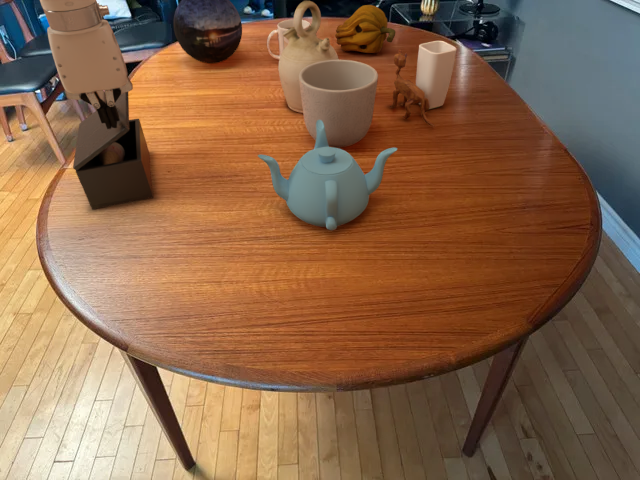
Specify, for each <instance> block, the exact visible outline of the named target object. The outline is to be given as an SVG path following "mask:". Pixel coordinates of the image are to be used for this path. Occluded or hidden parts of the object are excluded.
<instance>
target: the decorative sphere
mask: <svg viewBox="0 0 640 480" xmlns="http://www.w3.org/2000/svg"><path fill="white" fill-rule="evenodd" d="M173 31H174V35H175V38H176V41H177V43H178V45H180V47H181V48H182V50H183V51H184V52H185V53H186V54H187V55H188V56H189V57H191V58H192V59H194V60H196V61H197V62H202V63H205V64H218V63H221V62H224V61H226V60H228V59H229V58H230V57H232V56H233V55H234V54H235V52H236V51H237V49H238V48H239V46H240V44H241V41H242V35H243V24H242V19H241V16H240V14H239V11H238V9H237V8H236V6H235V5H234V4H233V2H231V0H181V1H180V2H179V3H178V4H177V7H176V9H175V11H174V16H173Z"/></svg>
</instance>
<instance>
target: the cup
mask: <svg viewBox="0 0 640 480" xmlns="http://www.w3.org/2000/svg"><path fill="white" fill-rule="evenodd" d="M456 56H457V47H456V46H454V45H452V44H450V43H449V42H446V41H443V40H433V41H429V42H423V43H420V44H419V45H418V53H417V61H416V73H415V75H416V76H415V85H416V86H417V87H419V88H420V89H421V90H423V92H424V94H425V97H424V98H427V99H428V100H429V106H430V107H429V109H428V110H433V109H437V108H440V107H442V106H443V105H444V104H445V101H446V98H447V94H448V92H449V88H450V84H451V79H452V77H453V72H454V67H455V61H456ZM417 105H419V106H420V107H421V103H418V104H417Z"/></svg>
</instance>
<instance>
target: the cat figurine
mask: <svg viewBox="0 0 640 480" xmlns="http://www.w3.org/2000/svg"><path fill="white" fill-rule="evenodd" d="M407 57H408V52H405V54H403V53H402V50H401V49H400V48H399V49H398V53H395V54H394V55H393V61H394V63H393V64H394V65H395V66H396V67H397V69H396V71H395V75H396V78H395V80H394V82H393V84H394V87H395V89H393V93H392V105H390V106H389V107H390V108H391V109H395V108H397V106H398V101H399V100H398V99H399V94H401V95H402V96H403V101H402V102H400V106H404V109H405V111H406V113H405V114H404V115H403V116H402V118H403V119H405V120H408V119H409V118H410V117H411V115H412V112H411V106H414V105H419V104H418V103H421V106H420V115H421V117H422V120H423V122H425V124H427V125H429V126H430V127H432V128H436V127H435V126H436V125H435V124H434V123H432V121H430V120H429V119H428V117H427V115H426V113H427V112H428V111H429V110H430V109H429V107H430V106H429V100H428V99H427V98H424V97H425V94H424V92H423V90H421V89H420V88H419V87H417V86H416V83H414V82H413V81H411V80H409V79H404V78H403V77H402V76H401V75H400V72H401V70H402V69H403V68H405V67H406V63H407Z"/></svg>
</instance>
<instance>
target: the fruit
mask: <svg viewBox="0 0 640 480" xmlns="http://www.w3.org/2000/svg"><path fill="white" fill-rule="evenodd" d="M335 33H336V34H335V36H334V37H335V38H336V44H337V45H339V46H340V48H341V50H342V51H344V52H350V51H351V52H352V51H353V52H354V51H355V52H361V53H366V54H377V53H379V52H380V51H381V50H382V48H383V45H384V43H385V41H386V42H387V43H390V44H391V43H392V42H393V40H394V38H395V36H396V30H395V29H394V28H391V27H388V18H387V17H386V13H385V12H384V11H383V10H382V9H381V8H380V7H377V6H376V5H372V4H365V5H362V6H360V7H358V9H356V10H355V11H354V13H353V14H352V15H351V16H349V18H347V19H346V20H345V21H343V22H342V24H339V25H338V26H337V28H336V29H335Z"/></svg>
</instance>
